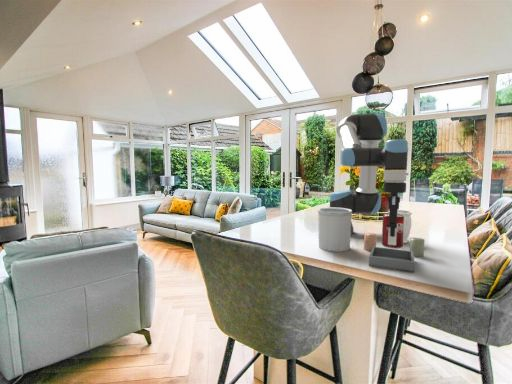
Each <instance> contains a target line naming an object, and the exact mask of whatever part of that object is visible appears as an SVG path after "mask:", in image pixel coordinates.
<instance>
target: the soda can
mask: <svg viewBox="0 0 512 384" xmlns="http://www.w3.org/2000/svg"><path fill="white" fill-rule="evenodd" d="M388 224H389V213H384V214H383V215H382V228H381V245H382V247H383V248H389V249H398V250H400V249H402V248H403V247H404V243H403V238H404V216H403V215H400V214H397V236H396V245H388V229H389V227H387V225H388Z"/></svg>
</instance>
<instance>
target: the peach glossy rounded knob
mask: <svg viewBox="0 0 512 384" xmlns="http://www.w3.org/2000/svg"><path fill="white" fill-rule="evenodd" d="M363 235H364V237H363V239H364V240H363V250H364V251H366V252H371V250H372V247H377V239H378V238H377V236H378V235H377V233H373V232H365V233H364V234H363Z"/></svg>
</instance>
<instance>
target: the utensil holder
mask: <svg viewBox="0 0 512 384" xmlns="http://www.w3.org/2000/svg"><path fill="white" fill-rule="evenodd" d="M317 213H318V214H317V215H318V216H317V218H318V222H317V223H318V247H319V248H320V249H322V250H324V251H328V252H339V253H340V252H346V251H349V250H350V248H351V235H352V234H351V222H352V210H351V209H347V208H337V207H330V206H329V207H319V208H318V209H317Z"/></svg>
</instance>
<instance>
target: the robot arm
mask: <svg viewBox="0 0 512 384" xmlns="http://www.w3.org/2000/svg"><path fill="white" fill-rule="evenodd" d="M386 118H387V117H386V116H385V115H384V114H383V113H362V114H356V113H355V114H354V113H353V114H349V115H347V116H345V117H344V118H343V119H341V120H340V121H339V123H338V124H337V126H336V133H337V137H338V138H340V141H341V146H342V149H341V150H340V164H341V166H343V167H359V176H358V177H359V178H358V187H357V188H356V189H355V193H354V192H352V190H339V191H333V192H331V193H330V195H329V207H337V208H347V209H351V210H352V214H353V215H368V216H370V215H376V214H378V212H380V209H381V206H382V205H381V204H382V195H381V193H379V190H378V189H377V187H376V186H377V174H378V173H377V172H378V171H377V170H378V167H384V169H383V181H384V183H383V192H384V193H390V196H388V198H387V202H388V210H390V212H389V213H388V214H389V224H388V225H387V227H389V229H388V245H396V236H397V210H400V203H401V196H398V195H399V194H404V193H406V192H407V183H406V181H407V176H409V172H407V170H408V154H409V153H408V152H409V143H408V141H407V139H402V138H401V139H400V138H397V139H389V140H386V141H385V143H384V144H385V145H384V147H380V146H379V145H380V143H381V142H382V141H383V138H384V137H386V136H387V132H388V123H387V119H386ZM352 214H351V215H352ZM354 231H355V230H354V226H353V222H352V221H351V234H350V235H352V234H353V233H354Z"/></svg>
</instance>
